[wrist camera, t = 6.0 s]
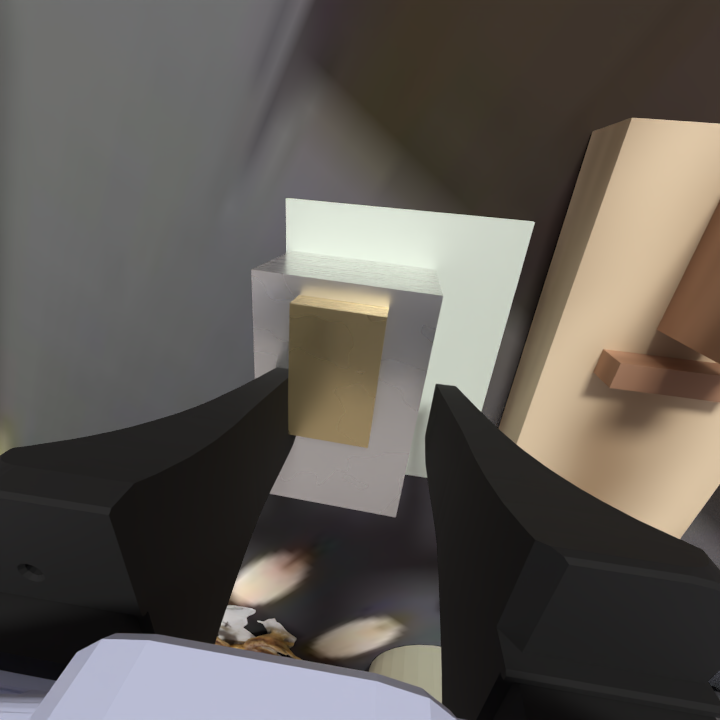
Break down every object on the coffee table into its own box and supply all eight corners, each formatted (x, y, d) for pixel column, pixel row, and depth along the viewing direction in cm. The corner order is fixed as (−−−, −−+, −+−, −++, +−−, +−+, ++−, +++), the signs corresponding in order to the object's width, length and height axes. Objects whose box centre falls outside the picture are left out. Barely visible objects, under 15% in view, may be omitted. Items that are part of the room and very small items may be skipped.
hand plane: (862, 151, 9) (1462, 92, 4) (575, 615, 19) (639, 781, 14) (592, 131, 10) (804, 57, 5) (446, 592, 20) (459, 741, 14)
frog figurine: (364, 681, 26) (357, 754, 23) (237, 690, 30) (214, 755, 26) (290, 586, 22) (268, 657, 19) (154, 609, 26) (114, 673, 22)
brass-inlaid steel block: (435, 268, 12) (446, 305, 8) (399, 451, 15) (394, 537, 11) (292, 250, 12) (237, 275, 8) (289, 432, 16) (249, 509, 12)
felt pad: (531, 221, 11) (535, 221, 11) (459, 477, 16) (460, 483, 16) (289, 198, 12) (285, 198, 11) (291, 450, 17) (288, 455, 16)
